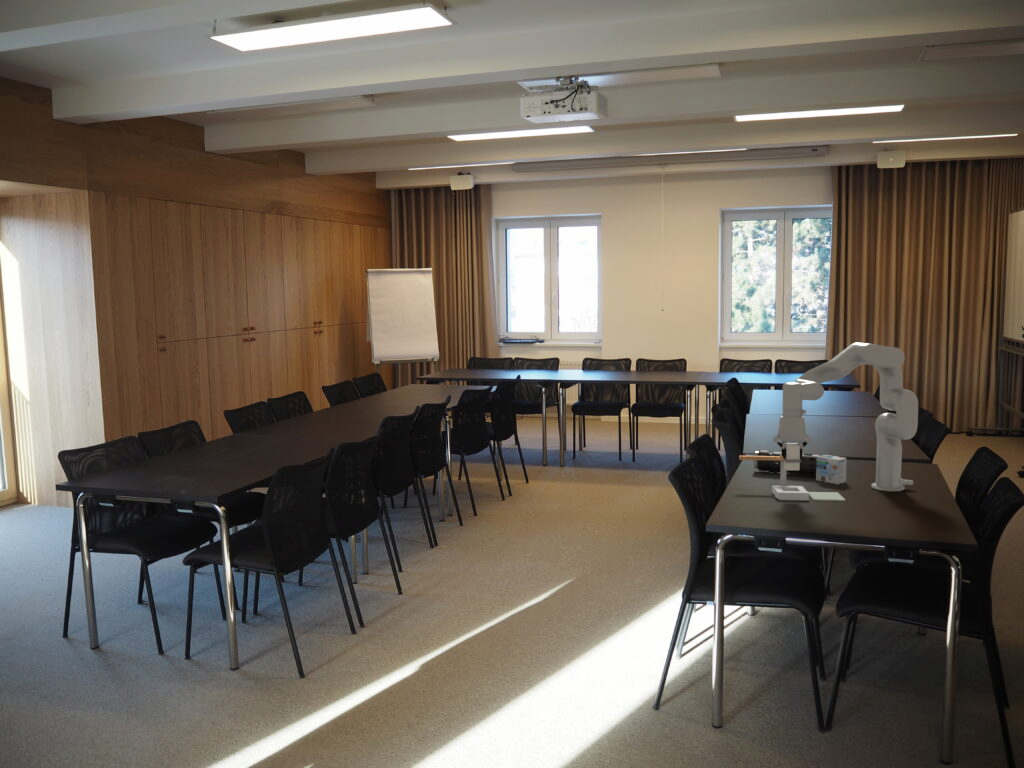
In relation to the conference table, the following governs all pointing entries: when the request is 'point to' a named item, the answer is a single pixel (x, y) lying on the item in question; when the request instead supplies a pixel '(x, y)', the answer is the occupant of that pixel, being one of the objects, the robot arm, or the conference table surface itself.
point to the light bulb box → (831, 469)
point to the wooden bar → (761, 458)
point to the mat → (826, 496)
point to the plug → (792, 456)
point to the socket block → (788, 489)
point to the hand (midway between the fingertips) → (791, 457)
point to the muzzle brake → (774, 466)
